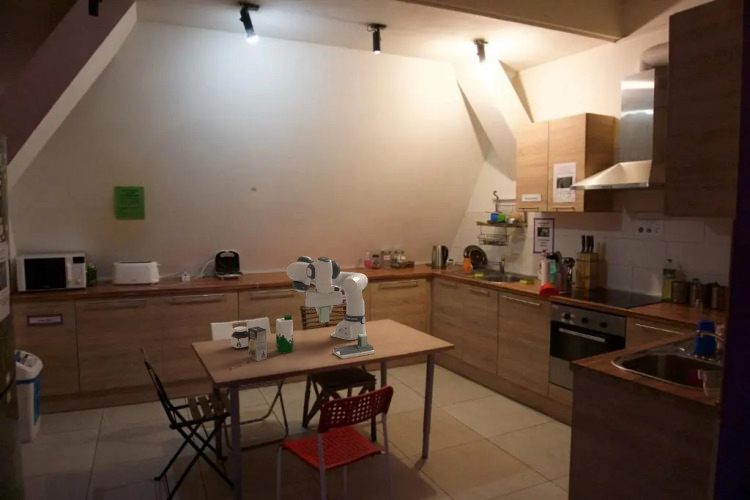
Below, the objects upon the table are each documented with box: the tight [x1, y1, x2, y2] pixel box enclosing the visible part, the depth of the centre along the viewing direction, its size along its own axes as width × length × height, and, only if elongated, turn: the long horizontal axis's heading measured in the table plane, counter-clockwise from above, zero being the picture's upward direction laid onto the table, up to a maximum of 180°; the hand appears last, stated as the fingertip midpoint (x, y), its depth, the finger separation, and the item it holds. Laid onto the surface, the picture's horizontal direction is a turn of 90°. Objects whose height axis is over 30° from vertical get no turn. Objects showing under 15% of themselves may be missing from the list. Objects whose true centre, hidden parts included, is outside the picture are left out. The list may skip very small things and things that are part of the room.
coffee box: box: [247, 326, 268, 362], centre depth 271 cm, size 9×6×16 cm
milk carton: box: [275, 314, 294, 354], centre depth 283 cm, size 9×9×20 cm
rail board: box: [332, 334, 376, 360], centre depth 280 cm, size 20×12×10 cm, turn 120°
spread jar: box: [230, 326, 248, 350], centre depth 290 cm, size 12×11×12 cm
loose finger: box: [318, 306, 330, 324], centre depth 270 cm, size 4×4×8 cm
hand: (324, 313), depth 270 cm, fingers closed on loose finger, 4 cm apart
